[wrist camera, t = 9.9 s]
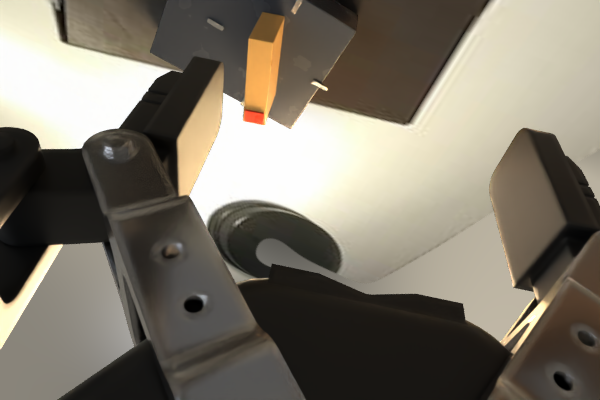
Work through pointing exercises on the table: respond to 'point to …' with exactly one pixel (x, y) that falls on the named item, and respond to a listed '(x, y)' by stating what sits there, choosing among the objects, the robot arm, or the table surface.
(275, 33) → the tap lever
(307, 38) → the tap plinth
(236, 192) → the table surface
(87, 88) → the table surface
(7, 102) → the table surface
